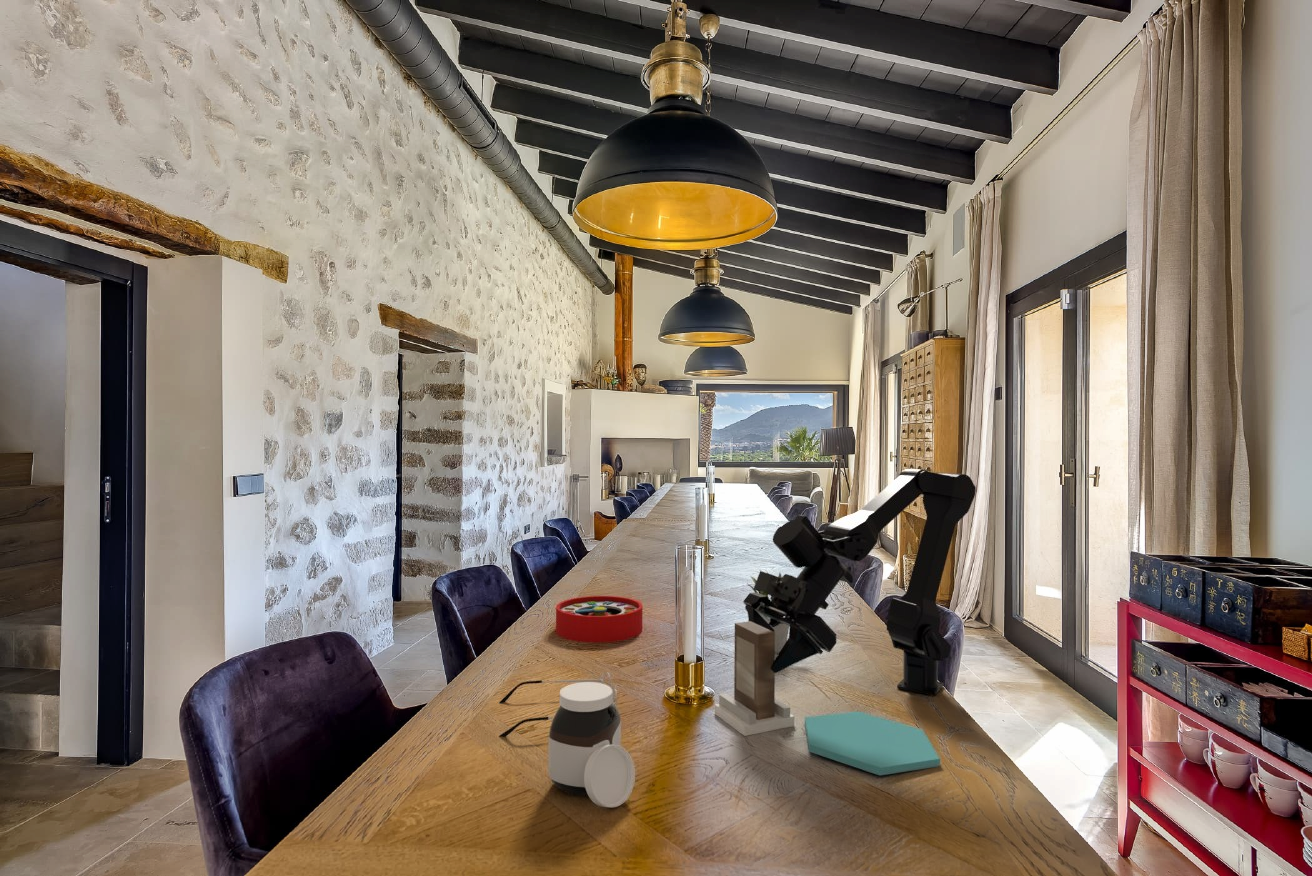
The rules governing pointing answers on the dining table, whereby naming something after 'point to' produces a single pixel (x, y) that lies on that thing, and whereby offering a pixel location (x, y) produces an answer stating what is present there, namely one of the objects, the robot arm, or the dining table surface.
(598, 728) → the spread jar
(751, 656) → the brown box
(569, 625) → the toy clock
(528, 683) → the eyeglasses
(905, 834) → the dining table surface
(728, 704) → the display stand
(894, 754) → the plaque
